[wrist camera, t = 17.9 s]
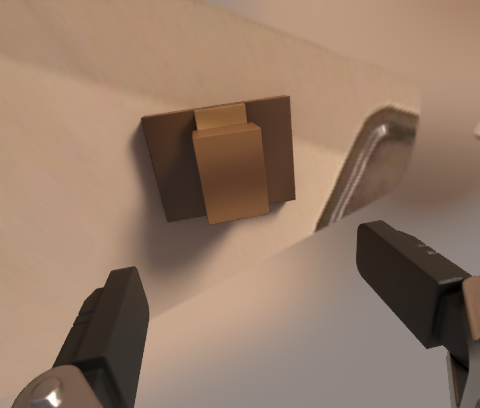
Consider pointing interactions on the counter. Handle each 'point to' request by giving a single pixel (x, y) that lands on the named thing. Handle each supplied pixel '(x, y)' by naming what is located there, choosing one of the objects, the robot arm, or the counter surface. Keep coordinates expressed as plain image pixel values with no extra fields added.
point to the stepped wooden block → (230, 164)
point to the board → (185, 165)
